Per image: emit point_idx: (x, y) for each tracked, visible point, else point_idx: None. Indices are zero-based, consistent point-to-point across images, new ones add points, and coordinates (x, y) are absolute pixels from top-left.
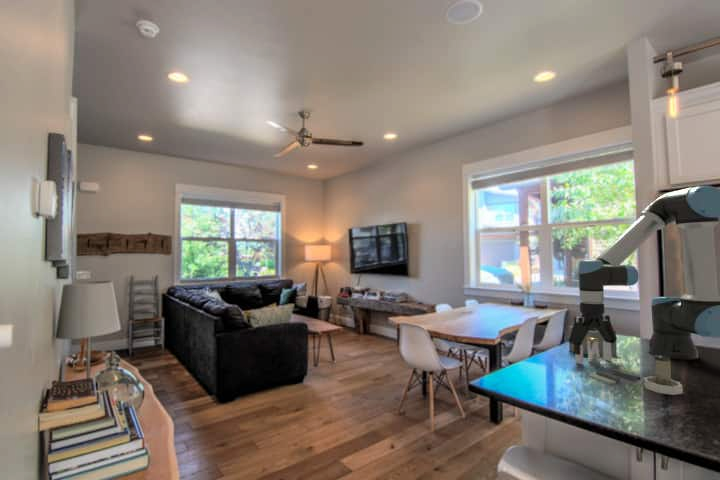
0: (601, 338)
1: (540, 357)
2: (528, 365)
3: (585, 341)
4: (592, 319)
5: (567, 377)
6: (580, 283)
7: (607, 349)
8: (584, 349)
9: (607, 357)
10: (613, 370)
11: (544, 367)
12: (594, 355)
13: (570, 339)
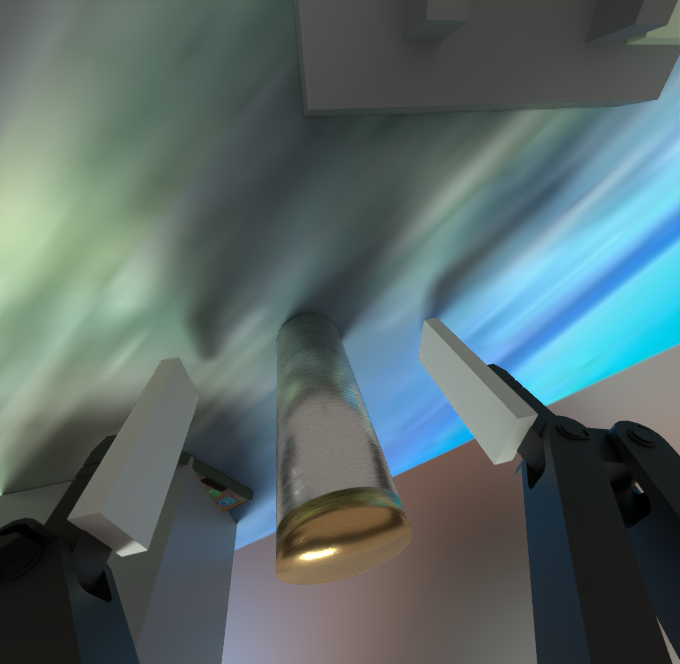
0: None
1: (428, 453)
2: (563, 378)
3: (189, 573)
4: None
5: (631, 192)
6: None
7: (154, 446)
8: (205, 516)
9: (181, 389)
10: (461, 4)
11: (542, 352)
12: (342, 368)
13: (636, 492)
